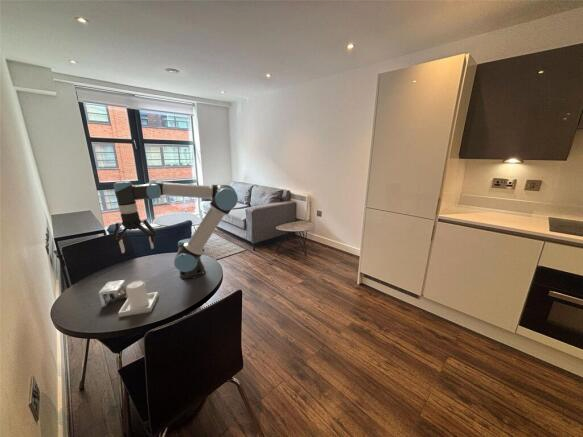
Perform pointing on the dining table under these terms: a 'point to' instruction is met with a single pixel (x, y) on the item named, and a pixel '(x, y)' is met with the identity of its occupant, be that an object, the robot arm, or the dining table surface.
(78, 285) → the dining table surface
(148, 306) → the tray
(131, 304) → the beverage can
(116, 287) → the white hollow block
